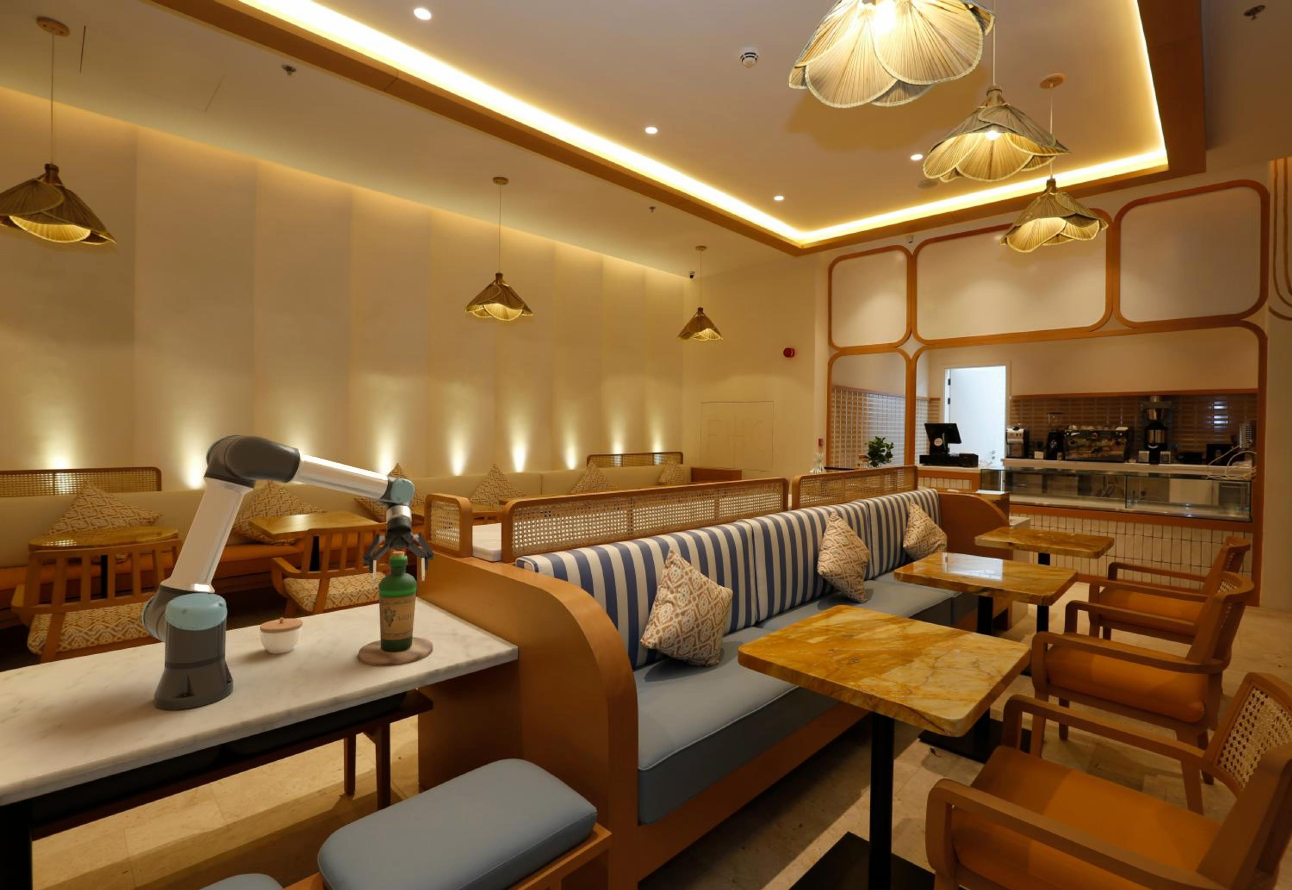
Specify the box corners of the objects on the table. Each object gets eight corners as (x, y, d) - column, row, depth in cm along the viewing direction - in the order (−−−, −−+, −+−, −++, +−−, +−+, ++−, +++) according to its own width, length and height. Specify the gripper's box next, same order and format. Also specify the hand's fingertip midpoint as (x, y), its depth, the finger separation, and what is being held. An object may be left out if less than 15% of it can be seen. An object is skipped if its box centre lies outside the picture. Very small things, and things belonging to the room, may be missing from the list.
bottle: (382, 656, 168) (384, 557, 168) (372, 646, 177) (374, 551, 177) (420, 649, 175) (423, 553, 175) (409, 639, 183) (411, 548, 183)
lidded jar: (287, 657, 171) (288, 624, 171) (250, 655, 171) (251, 622, 171) (309, 644, 181) (310, 613, 181) (274, 643, 182) (275, 612, 182)
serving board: (394, 670, 163) (394, 664, 163) (342, 657, 171) (342, 652, 171) (447, 648, 181) (447, 643, 181) (398, 637, 189) (398, 633, 189)
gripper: (438, 529, 201) (441, 583, 187) (356, 531, 191) (353, 589, 177) (440, 515, 196) (444, 570, 182) (356, 517, 186) (352, 575, 172)
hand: (399, 580), depth 180 cm, fingers open, 13 cm apart
